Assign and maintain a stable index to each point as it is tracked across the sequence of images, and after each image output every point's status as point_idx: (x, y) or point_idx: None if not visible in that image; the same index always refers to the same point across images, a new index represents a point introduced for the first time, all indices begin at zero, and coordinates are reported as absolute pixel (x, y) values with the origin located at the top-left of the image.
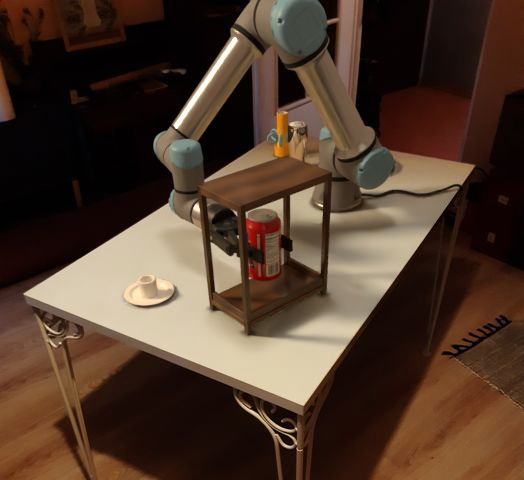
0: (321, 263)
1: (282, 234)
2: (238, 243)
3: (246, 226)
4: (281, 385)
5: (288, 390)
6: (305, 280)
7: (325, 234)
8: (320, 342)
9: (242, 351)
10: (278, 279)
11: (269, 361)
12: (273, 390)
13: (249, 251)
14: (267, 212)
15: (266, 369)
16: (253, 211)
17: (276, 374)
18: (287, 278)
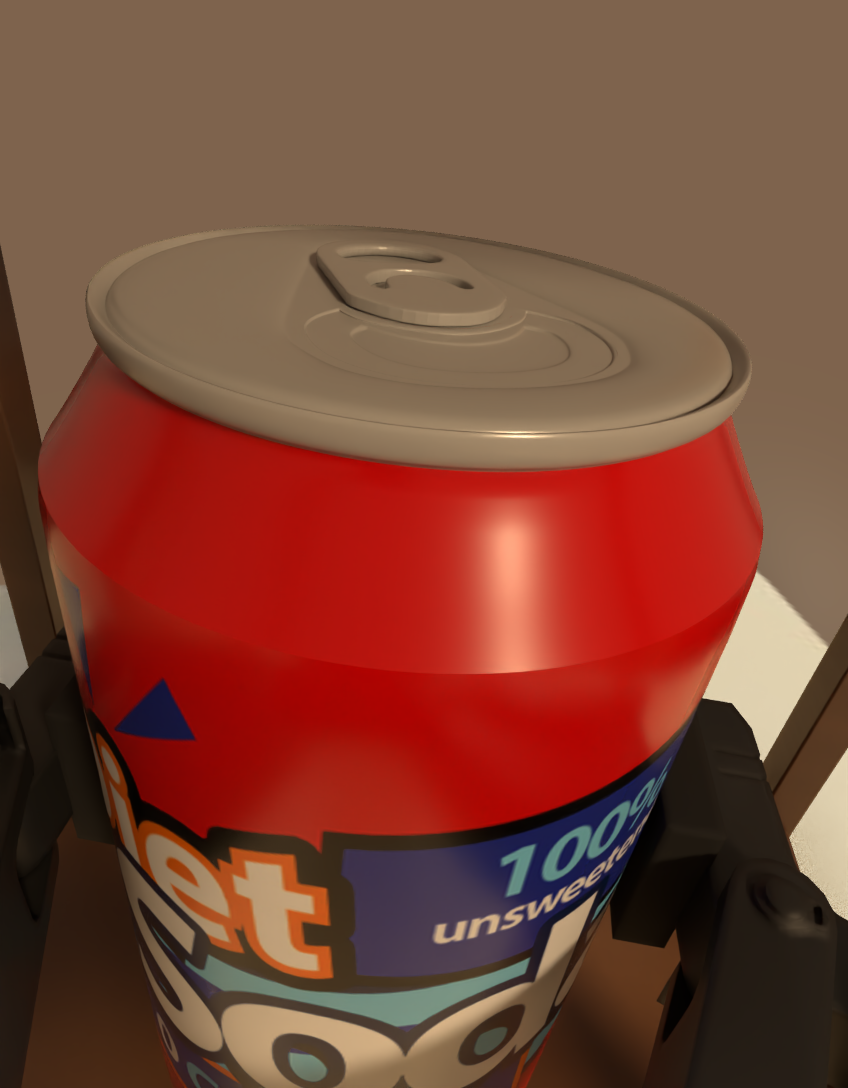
0: (56, 613)
1: (59, 642)
2: (793, 887)
3: (761, 541)
4: (759, 613)
5: (749, 592)
6: (74, 836)
7: (21, 356)
8: None
9: (819, 821)
10: (144, 1044)
11: (732, 697)
12: (797, 619)
13: (708, 699)
14: (279, 278)
15: (768, 682)
16: (429, 397)
17: (746, 646)
18: (93, 979)
